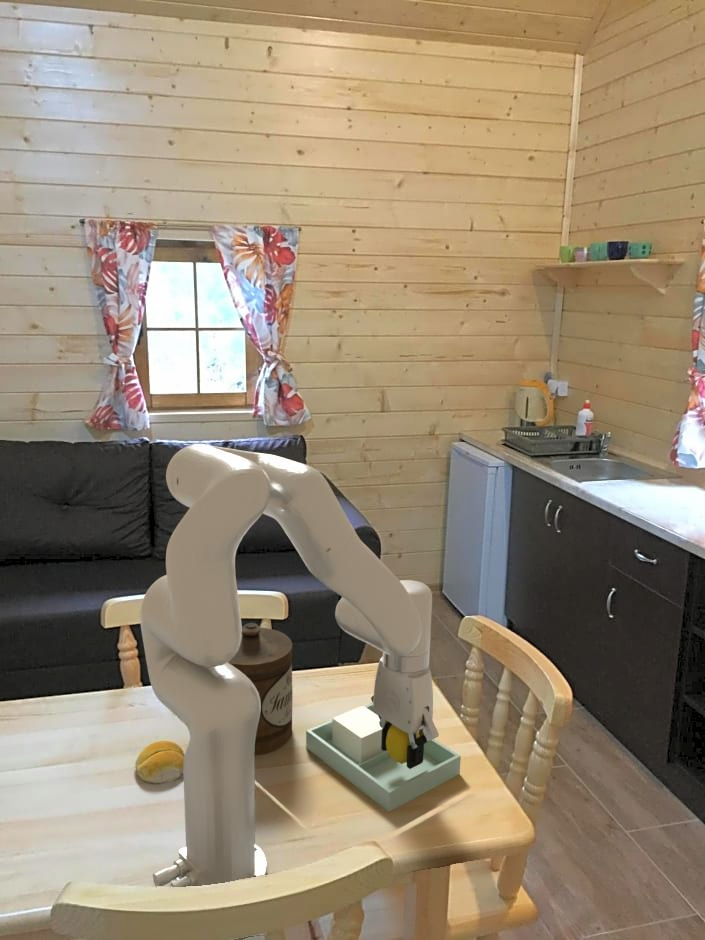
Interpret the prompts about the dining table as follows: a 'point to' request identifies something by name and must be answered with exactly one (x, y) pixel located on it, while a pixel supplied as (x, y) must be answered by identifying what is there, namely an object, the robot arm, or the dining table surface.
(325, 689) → the dining table surface
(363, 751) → the carton
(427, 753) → the tray
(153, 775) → the bread roll
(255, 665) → the wooden container
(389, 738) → the lemon
